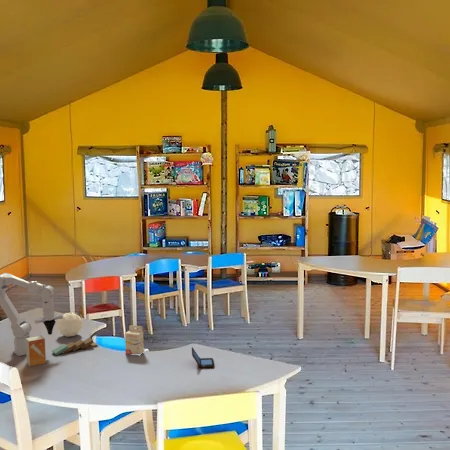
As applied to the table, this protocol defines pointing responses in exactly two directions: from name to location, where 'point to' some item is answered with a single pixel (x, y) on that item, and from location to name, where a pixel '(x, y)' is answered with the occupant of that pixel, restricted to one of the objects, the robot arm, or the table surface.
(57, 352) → the domino
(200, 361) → the handheld game console
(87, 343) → the domino
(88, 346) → the domino
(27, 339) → the small box
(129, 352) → the ink cartridge box
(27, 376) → the table surface
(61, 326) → the geodesic sphere
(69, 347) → the domino
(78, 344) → the domino
